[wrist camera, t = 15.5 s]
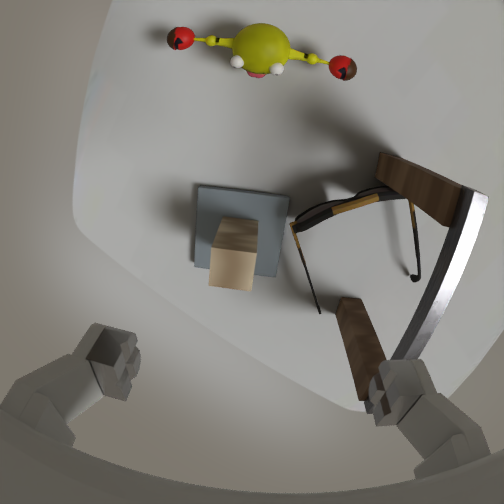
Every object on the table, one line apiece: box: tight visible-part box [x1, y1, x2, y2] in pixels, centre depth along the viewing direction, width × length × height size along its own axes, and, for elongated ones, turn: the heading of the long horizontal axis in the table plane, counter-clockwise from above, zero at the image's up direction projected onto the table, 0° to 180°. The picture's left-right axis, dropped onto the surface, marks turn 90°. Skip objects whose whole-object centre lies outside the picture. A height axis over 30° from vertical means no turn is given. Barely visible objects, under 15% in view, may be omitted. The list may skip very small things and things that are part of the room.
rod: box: [364, 185, 489, 414], centre depth 21 cm, size 2×23×2 cm, turn 173°
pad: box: [194, 185, 290, 277], centre depth 34 cm, size 10×10×1 cm
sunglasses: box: [290, 186, 421, 314], centre depth 33 cm, size 14×15×5 cm
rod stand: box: [335, 152, 462, 401], centre depth 28 cm, size 3×22×15 cm, turn 173°
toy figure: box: [167, 23, 357, 81], centre depth 23 cm, size 18×6×7 cm, turn 79°
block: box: [209, 216, 259, 291], centre depth 30 cm, size 4×4×8 cm
